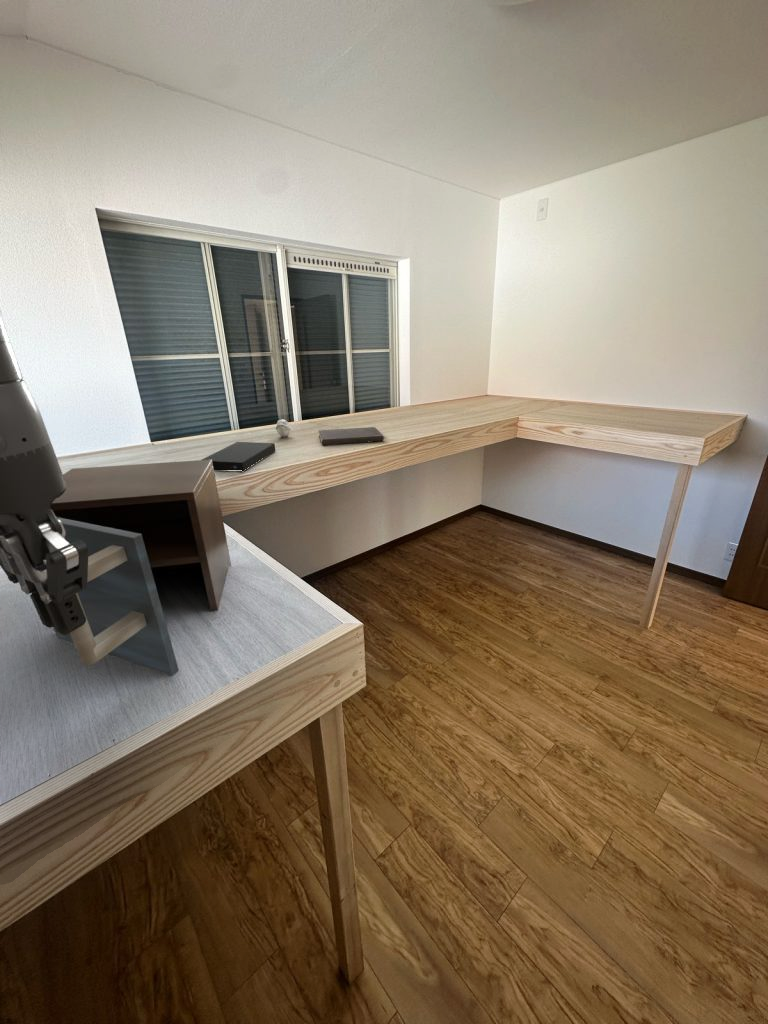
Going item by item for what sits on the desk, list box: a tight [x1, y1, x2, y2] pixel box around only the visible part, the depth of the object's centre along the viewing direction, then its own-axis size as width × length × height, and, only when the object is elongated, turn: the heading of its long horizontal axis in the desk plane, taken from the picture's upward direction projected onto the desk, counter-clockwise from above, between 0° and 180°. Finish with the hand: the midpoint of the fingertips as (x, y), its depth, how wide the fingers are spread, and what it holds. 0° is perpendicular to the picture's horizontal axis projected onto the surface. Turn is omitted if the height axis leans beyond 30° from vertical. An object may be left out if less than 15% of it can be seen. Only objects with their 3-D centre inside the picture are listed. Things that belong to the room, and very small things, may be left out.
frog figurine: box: [275, 418, 292, 438], centre depth 164 cm, size 6×7×7 cm
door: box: [52, 517, 179, 677], centre depth 46 cm, size 8×20×20 cm, turn 70°
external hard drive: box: [201, 441, 276, 472], centre depth 135 cm, size 14×23×3 cm, turn 170°
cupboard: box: [51, 459, 232, 612], centre depth 62 cm, size 15×20×20 cm
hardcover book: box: [317, 426, 385, 446], centre depth 160 cm, size 16×23×2 cm
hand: (65, 624), depth 39 cm, fingers closed on door, 2 cm apart
